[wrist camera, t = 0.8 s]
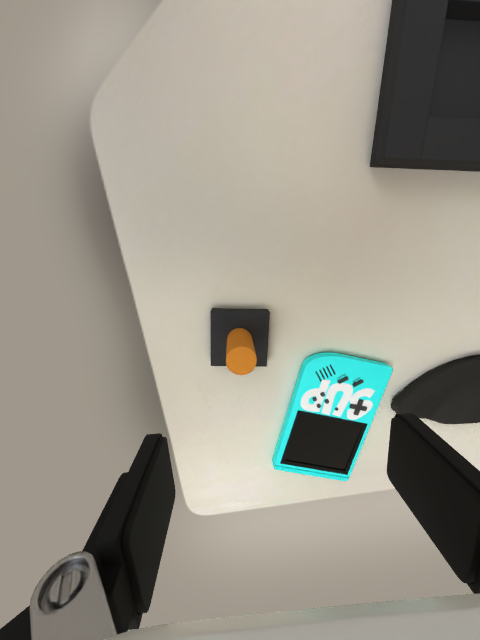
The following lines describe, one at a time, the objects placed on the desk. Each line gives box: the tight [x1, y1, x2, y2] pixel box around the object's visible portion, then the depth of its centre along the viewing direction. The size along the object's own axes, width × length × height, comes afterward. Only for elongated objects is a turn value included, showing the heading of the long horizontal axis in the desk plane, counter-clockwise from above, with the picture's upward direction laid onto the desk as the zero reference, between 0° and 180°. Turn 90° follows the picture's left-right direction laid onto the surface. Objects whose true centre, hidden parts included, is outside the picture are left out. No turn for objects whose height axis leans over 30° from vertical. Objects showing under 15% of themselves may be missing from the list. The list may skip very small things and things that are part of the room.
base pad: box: [370, 0, 480, 171], centre depth 21 cm, size 14×14×2 cm
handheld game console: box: [272, 352, 393, 481], centre depth 30 cm, size 10×16×1 cm, turn 167°
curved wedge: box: [391, 355, 480, 424], centre depth 29 cm, size 8×14×2 cm, turn 95°
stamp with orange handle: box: [211, 308, 270, 375], centre depth 24 cm, size 6×6×7 cm
